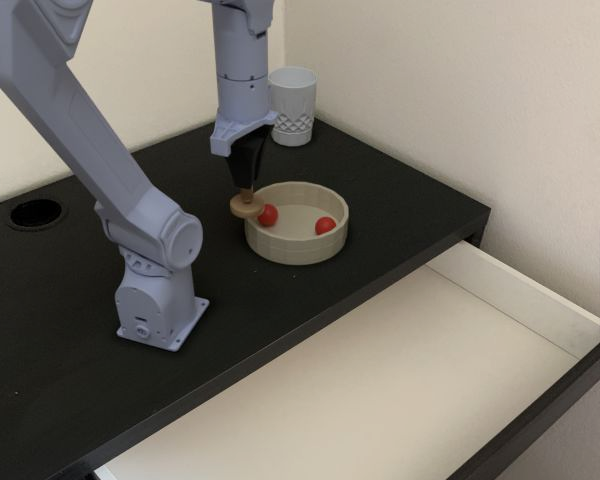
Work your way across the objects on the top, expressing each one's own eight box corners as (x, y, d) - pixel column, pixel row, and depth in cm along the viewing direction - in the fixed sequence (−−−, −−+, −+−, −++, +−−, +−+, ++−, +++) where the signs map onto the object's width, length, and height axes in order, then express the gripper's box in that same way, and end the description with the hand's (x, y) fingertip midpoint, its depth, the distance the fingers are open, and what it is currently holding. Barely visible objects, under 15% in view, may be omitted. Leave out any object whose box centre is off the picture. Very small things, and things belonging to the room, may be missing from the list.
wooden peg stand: (257, 221, 84) (255, 163, 78) (225, 214, 85) (220, 156, 79) (269, 203, 87) (268, 145, 80) (238, 196, 87) (235, 139, 81)
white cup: (311, 151, 109) (313, 89, 101) (264, 146, 110) (263, 84, 102) (317, 128, 114) (320, 68, 106) (273, 123, 115) (272, 63, 107)
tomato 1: (273, 232, 93) (273, 213, 90) (253, 227, 93) (253, 208, 91) (281, 220, 94) (281, 202, 92) (261, 216, 95) (261, 197, 93)
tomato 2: (332, 245, 91) (333, 226, 89) (311, 240, 91) (312, 222, 89) (338, 233, 93) (340, 214, 90) (318, 228, 93) (319, 210, 91)
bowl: (328, 274, 88) (330, 249, 85) (229, 251, 90) (228, 226, 87) (358, 217, 96) (360, 193, 93) (267, 198, 99) (266, 173, 96)
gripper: (251, 104, 67) (254, 220, 77) (298, 51, 76) (296, 160, 86) (188, 93, 69) (199, 207, 79) (241, 41, 78) (246, 150, 88)
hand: (246, 182), depth 83 cm, fingers closed on wooden peg stand
